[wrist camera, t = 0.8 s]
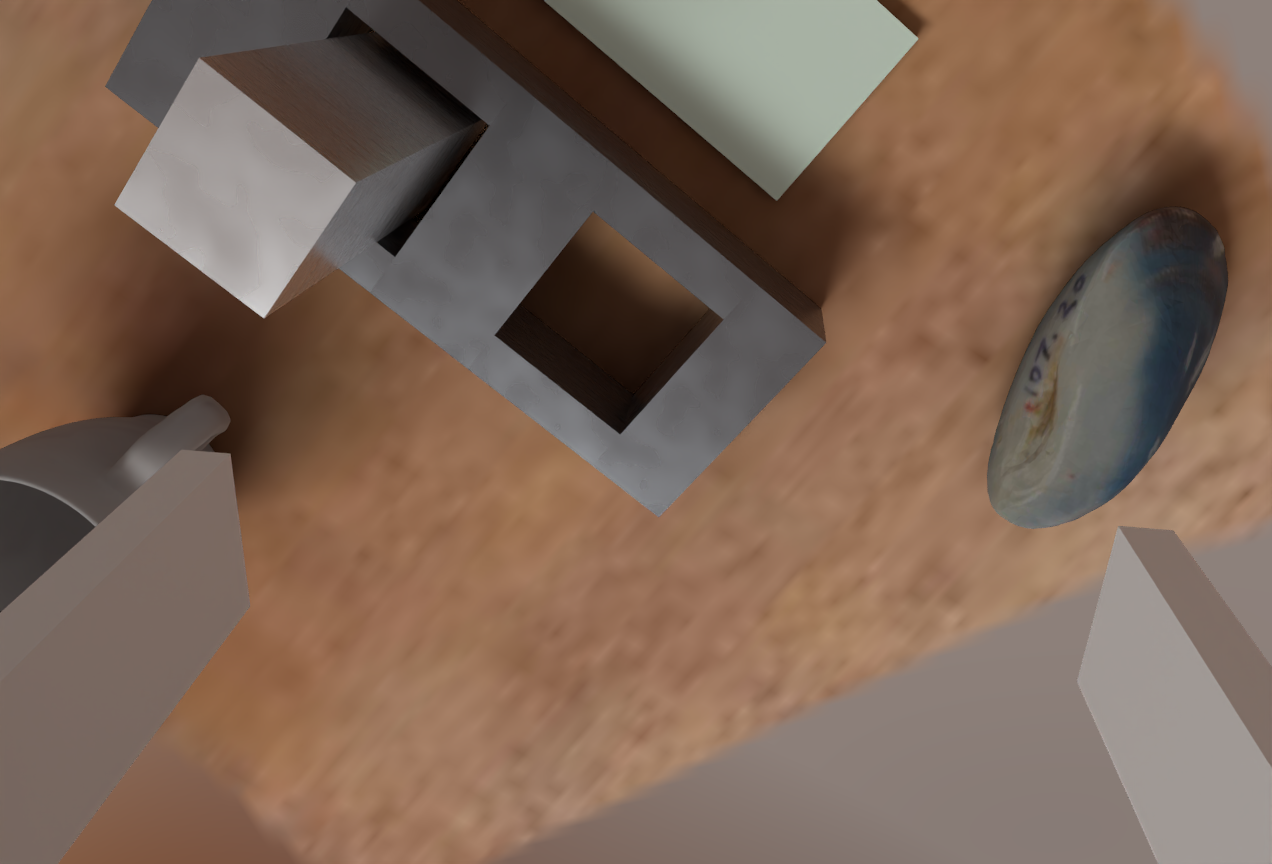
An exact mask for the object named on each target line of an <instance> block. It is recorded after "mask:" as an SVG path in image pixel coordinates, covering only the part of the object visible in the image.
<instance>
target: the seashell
mask: <svg viewBox="0 0 1272 864" xmlns="http://www.w3.org/2000/svg"><path fill="white" fill-rule="evenodd" d="M1227 286H1228V272H1227V264H1226V258H1225V249H1224V246H1223V243H1222V241H1221V239H1220V237H1219V235H1218V232H1217V230H1216V229H1215V228H1214V227H1213V226H1212V225H1211V224H1210V223H1209V222H1208V221H1207V220H1206V219H1205V218H1204V217H1202V216H1201V215H1200V214H1198V213H1197V212H1195V211H1193V210H1190V209H1188V208H1182V207H1165V208H1160V209H1156V210H1153V211H1150V212H1147V213H1145V214H1144V215H1142V216H1140V217H1138V218H1137V219H1135V220H1134V221H1132V222H1131V223H1130V224H1128V225H1127V226H1126V227H1124V228H1123V229H1121V230H1120V231H1119V232H1118V233H1116V234H1115V235H1114V236H1113V237H1112V238H1110V239H1109V240H1108V241H1107V242H1106V243H1104V244H1103V245H1102V246H1101V247H1100V248H1099V249H1098V250H1097V251H1096V252H1095V253H1094V254H1092V255H1091V256H1090V257H1089V258H1088V259H1087V260H1086V261H1085V262H1084V264H1083V265H1082V266H1081V267H1080V268H1079V269H1078V270H1077V271H1076V273H1075V274H1074V275H1073V277H1072V278H1071V279H1070V281H1069V282H1068V283H1067V284H1066V286H1065V287H1064V288H1063V290H1062V291H1061V293H1060V294H1059V295H1058V297H1057V298H1056V299H1055V301H1054V302H1053V303H1052V305H1051V306H1050V308H1049V309H1048V311H1047V312H1046V314H1045V315H1044V317H1043V319H1042V321H1041V322H1040V324H1039V325H1038V327H1037V329H1036V331H1035V333H1034V336H1033V338H1032V340H1031V342H1030V344H1029V346H1028V348H1027V350H1026V352H1025V354H1024V357H1023V359H1022V361H1021V363H1020V366H1019V368H1018V370H1017V373H1016V375H1015V378H1014V380H1013V383H1012V385H1011V388H1010V390H1009V393H1008V396H1007V399H1006V402H1005V405H1004V407H1003V410H1002V414H1001V417H1000V420H999V423H998V426H997V429H996V433H995V437H994V443H993V446H992V449H991V453H990V458H989V462H988V472H987V483H988V494H989V498H990V502H991V505H992V506H993V508H994V509H995V511H996V512H997V513H998V514H999V515H1000V516H1001V517H1003V518H1004V519H1006V520H1008V521H1009V522H1010V523H1013V524H1015V525H1017V526H1020V527H1024V528H1031V529H1035V528H1047V527H1053V526H1057V525H1060V524H1063V523H1067V522H1070V521H1073V520H1076V519H1078V518H1080V517H1082V516H1084V515H1085V514H1087V513H1089V512H1091V511H1093V510H1095V509H1097V508H1098V507H1100V506H1102V505H1103V504H1105V503H1107V502H1108V501H1109V500H1111V499H1112V498H1114V497H1115V496H1116V495H1117V494H1119V493H1120V492H1121V491H1122V490H1123V489H1124V488H1125V487H1126V486H1127V485H1128V484H1129V483H1130V482H1131V481H1132V480H1133V479H1134V478H1135V476H1136V475H1137V474H1138V473H1139V472H1140V471H1141V470H1142V468H1143V467H1144V466H1145V465H1146V463H1147V462H1148V461H1149V460H1150V459H1151V457H1152V456H1153V455H1154V454H1155V452H1156V451H1157V449H1158V448H1159V447H1160V445H1161V444H1162V442H1163V441H1164V439H1165V437H1166V436H1167V434H1168V432H1169V431H1170V429H1171V427H1172V425H1173V423H1174V421H1175V420H1176V418H1177V416H1178V414H1179V413H1180V411H1181V409H1182V407H1183V405H1184V403H1185V402H1186V400H1187V398H1188V396H1189V395H1190V393H1191V391H1192V389H1193V387H1194V385H1195V383H1196V381H1197V380H1198V378H1199V376H1200V374H1201V371H1202V369H1203V367H1204V365H1205V363H1206V361H1207V358H1208V355H1209V352H1210V349H1211V346H1212V343H1213V341H1214V338H1215V335H1216V332H1217V329H1218V326H1219V322H1220V318H1221V315H1222V311H1223V307H1224V302H1225V297H1226V292H1227Z"/></svg>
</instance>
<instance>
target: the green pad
mask: <svg viewBox="0 0 1272 864" xmlns="http://www.w3.org/2000/svg"><path fill="white" fill-rule="evenodd" d="M544 1H545V2H546V3H547V4H548V5H550V6H551V7H552V8H553V9H554V10H555V11H557V12H558V13H559V14H560V15H561V16H562V17H564V18H565V19H566V20H567V21H568V22H569V23H570V24H572V25H573V26H574V27H575V28H576V29H577V30H579V31H580V32H581V33H582V34H583V35H584V36H586V37H587V38H588V39H589V40H590V41H591V42H593V43H594V44H595V45H596V46H597V47H598V48H600V49H601V50H602V51H603V52H604V53H605V54H607V55H608V56H609V57H610V58H611V59H612V60H613V61H615V62H616V63H617V64H618V65H619V66H620V67H622V68H623V69H624V70H625V71H626V72H627V73H629V74H630V75H631V76H632V77H633V78H634V79H636V80H637V81H638V82H639V83H640V84H641V85H643V86H644V87H645V88H646V89H647V90H648V91H650V92H651V93H652V94H653V95H654V96H655V97H656V98H658V99H659V100H660V101H661V102H662V103H663V104H665V105H666V106H667V107H668V108H669V109H670V110H672V111H673V112H674V113H675V114H676V115H677V116H679V117H680V118H681V119H682V120H683V121H684V122H686V123H687V124H688V125H689V126H690V127H691V128H693V129H694V130H695V131H696V132H697V133H698V134H700V135H701V136H702V137H703V138H704V139H705V140H706V141H708V142H709V143H710V144H711V145H712V146H713V147H715V148H716V149H717V150H718V151H719V152H720V153H722V154H723V155H724V156H725V157H726V158H727V159H729V160H730V161H731V162H732V163H733V164H734V165H736V166H737V167H738V168H739V169H740V170H741V171H743V172H744V173H745V174H746V175H747V176H748V177H749V178H751V179H752V180H753V181H754V182H755V183H756V184H758V185H759V186H760V187H761V188H762V189H763V190H765V191H766V192H767V193H768V194H769V195H770V196H772V197H773V198H774V199H775V200H776V201H777V200H778V199H779V198H780V197H781V196H782V194H783V193H784V192H785V191H786V190H787V189H788V188H789V186H790V185H791V184H792V183H793V182H794V181H795V180H796V178H797V177H798V176H799V175H800V174H801V173H802V172H803V170H804V169H805V168H806V167H807V166H808V165H809V164H810V162H811V161H812V160H813V159H814V158H815V157H816V156H817V154H818V153H819V152H820V151H821V150H822V149H823V148H824V146H825V145H826V144H827V143H828V142H829V141H830V140H831V138H832V137H833V136H834V135H835V134H836V133H837V132H838V130H839V129H840V128H841V127H842V126H843V125H844V124H845V122H846V121H847V120H848V119H849V118H850V117H851V116H852V114H853V113H854V112H855V111H856V110H857V109H858V108H859V106H860V105H861V104H862V103H863V102H864V101H865V100H866V98H867V97H868V96H869V95H870V94H871V93H872V92H873V90H874V89H875V88H876V87H877V86H878V85H879V84H880V82H881V81H882V80H883V79H884V78H885V77H886V76H887V74H888V73H889V72H890V71H891V70H892V69H893V68H894V66H895V65H896V64H897V63H898V62H899V61H900V60H901V58H902V57H903V56H904V55H905V54H906V53H907V52H908V50H909V49H910V48H911V47H912V46H913V45H914V44H915V42H916V41H917V40H918V38H917V37H916V36H915V35H914V34H913V33H912V32H911V31H910V30H909V29H908V28H906V27H905V26H904V25H903V24H902V23H901V22H900V21H899V20H898V19H897V18H896V17H895V16H893V15H892V14H891V13H890V12H889V11H888V10H887V9H886V8H885V7H884V6H883V5H881V4H880V3H879V2H878V1H877V0H544Z"/></svg>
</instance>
